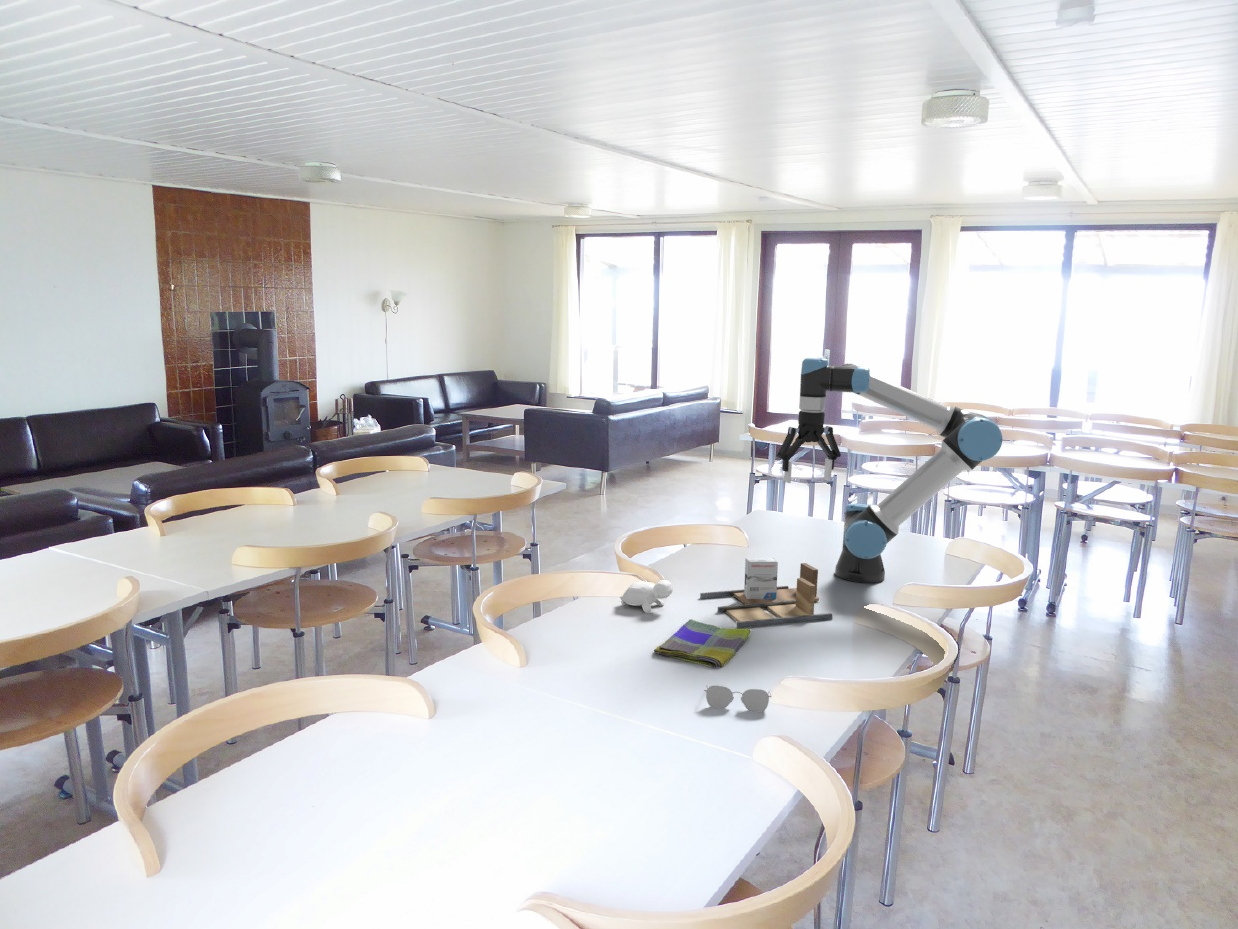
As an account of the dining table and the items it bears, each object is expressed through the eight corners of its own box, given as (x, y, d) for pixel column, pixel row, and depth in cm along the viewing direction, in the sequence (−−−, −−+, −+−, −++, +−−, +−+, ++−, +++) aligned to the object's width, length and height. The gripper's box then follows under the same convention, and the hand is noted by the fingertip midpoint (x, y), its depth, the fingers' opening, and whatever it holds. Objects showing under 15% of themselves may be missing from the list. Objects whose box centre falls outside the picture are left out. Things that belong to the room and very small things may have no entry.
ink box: (772, 596, 245) (774, 557, 243) (776, 601, 240) (778, 561, 238) (743, 596, 245) (744, 557, 243) (746, 602, 240) (748, 561, 238)
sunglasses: (702, 708, 175) (704, 684, 175) (704, 697, 183) (706, 674, 183) (770, 715, 173) (772, 690, 173) (769, 703, 181) (771, 680, 181)
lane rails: (786, 590, 251) (787, 585, 251) (832, 619, 228) (832, 613, 228) (700, 598, 243) (700, 593, 243) (737, 628, 220) (738, 623, 219)
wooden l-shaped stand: (797, 606, 238) (799, 576, 236) (816, 618, 228) (818, 587, 227) (726, 613, 231) (727, 582, 229) (742, 625, 222) (744, 593, 220)
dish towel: (754, 638, 214) (754, 628, 214) (719, 672, 193) (719, 661, 193) (690, 625, 222) (690, 615, 222) (650, 657, 201) (650, 646, 201)
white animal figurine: (623, 618, 234) (668, 609, 225) (614, 589, 234) (658, 579, 226) (639, 610, 241) (683, 601, 233) (630, 581, 241) (674, 571, 233)
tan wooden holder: (801, 590, 251) (802, 561, 250) (818, 600, 242) (820, 571, 240) (733, 595, 244) (735, 566, 243) (749, 607, 235) (750, 576, 234)
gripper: (841, 408, 257) (836, 477, 261) (767, 409, 250) (764, 480, 253) (855, 411, 250) (850, 482, 254) (780, 412, 243) (776, 485, 246)
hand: (807, 481), depth 254 cm, fingers open, 13 cm apart
